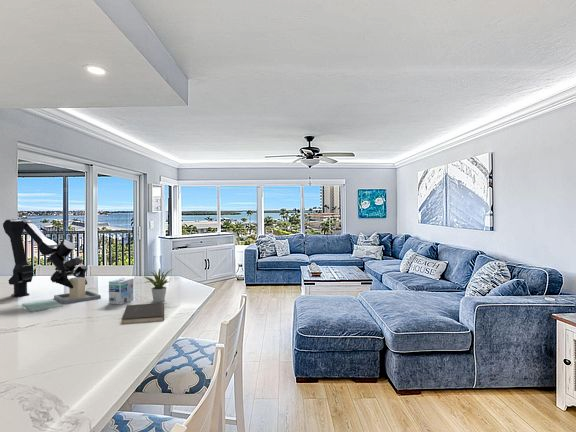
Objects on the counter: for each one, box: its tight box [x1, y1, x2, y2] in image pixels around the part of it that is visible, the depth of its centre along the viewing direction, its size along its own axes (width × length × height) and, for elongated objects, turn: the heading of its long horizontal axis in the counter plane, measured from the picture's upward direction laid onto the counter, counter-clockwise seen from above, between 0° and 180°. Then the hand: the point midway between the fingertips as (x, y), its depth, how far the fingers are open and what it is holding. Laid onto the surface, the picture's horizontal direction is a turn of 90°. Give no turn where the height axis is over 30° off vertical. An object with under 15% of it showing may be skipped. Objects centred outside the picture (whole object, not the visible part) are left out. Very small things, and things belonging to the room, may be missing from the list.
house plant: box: [144, 268, 175, 303], centre depth 192 cm, size 14×14×16 cm
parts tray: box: [53, 290, 102, 305], centre depth 191 cm, size 16×16×2 cm
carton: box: [68, 276, 86, 299], centre depth 191 cm, size 5×5×10 cm
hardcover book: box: [121, 302, 165, 324], centre depth 166 cm, size 16×23×2 cm
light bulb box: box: [108, 277, 135, 305], centre depth 187 cm, size 11×7×11 cm, turn 168°
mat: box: [21, 299, 63, 313], centre depth 177 cm, size 16×12×1 cm
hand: (79, 286), depth 191 cm, fingers open, 9 cm apart
